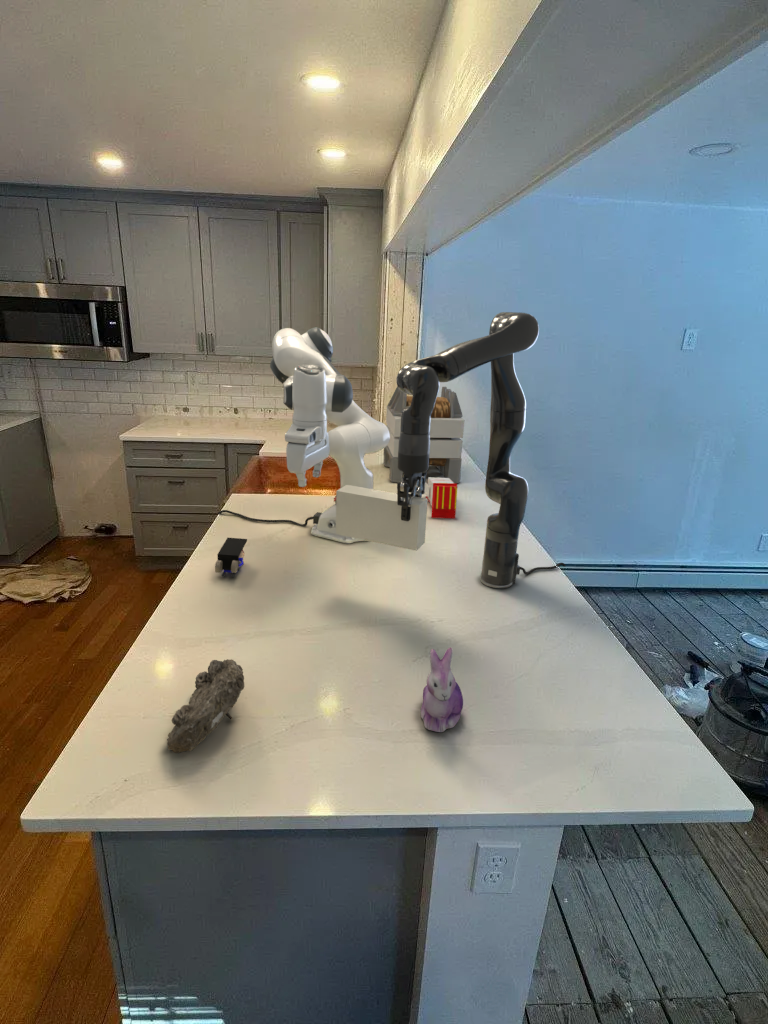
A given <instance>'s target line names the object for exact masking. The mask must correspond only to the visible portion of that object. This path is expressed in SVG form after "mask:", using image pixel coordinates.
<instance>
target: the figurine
mask: <svg viewBox="0 0 768 1024" xmlns="http://www.w3.org/2000/svg"><path fill="white" fill-rule="evenodd" d="M453 655H454V649H453V647H448V648H446V650H445V652H444V653H443V656H442V658H440V657H439V655H438V652H437V651H436V649H434V648H430V651H429V661H430V672H429V673H428V675H427V678H426V685H425V686H424V688H423V690H422V702H421V708H420V717H421V720H422V721H423V725H424V727H425V729H427V730H428V731H433V732H435V733H444V732H445V731H446V730H447V729H453V728H454V727H455V726H456V725H457V723H459V721H460V718H461V715H462V711H463V707H464V697H463V693H462V690H461V687H460V684H459V683H458V682H457V680H456V677H455V676H454V673H453V671H452V660H453Z"/></svg>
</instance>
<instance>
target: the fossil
mask: <svg viewBox="0 0 768 1024" xmlns="http://www.w3.org/2000/svg"><path fill="white" fill-rule="evenodd" d="M243 670H244V669H243V667H242V665H240V664H237V662H236V661H235V660H234V659H232V658H231V659H227V658H226V659H224V660H223V661H222V660H217V659H212V660H211V661H210V663H209V665H208V666H207V671H201V672H199V673H198V674H197V675H196V676H195V680H194V684H195V685H194V687H195V689H194V690H193V693H192V694H191V697H190V698H189V700H188V704H184V705H182V706H181V707H180V709H177V710H176V711H175V713H174V715H173V716H172V718H171V723H172V724H173V727H172V730H171V731H170V732H168V734H167V738H166V741H167V742H166V745H167V749H168V750H169V751H173V752H174V753H176V754H178V753H182V752H188V751H189V752H192V751H193V750H195V748H196V747H197V746H199V744H200V743H201V742H203V741H204V740H205V739H206V738H207V737H208V736H209V735H210V734H211V733H212V732H214V730H215V729H217V727H218V726H219V724H220V722H221V721H222V720H223V719H224V718H225V716H226V717H227V719H229V720H233V717H232V715H230V714H229V710H230V709H231V708H234V706H235V704H236V703H237V702H238V699H239V697H240V695H241V693H242V691H243V690H245V689H244V688H245V675H244V671H243Z"/></svg>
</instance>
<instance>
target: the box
mask: <svg viewBox="0 0 768 1024" xmlns="http://www.w3.org/2000/svg"><path fill="white" fill-rule="evenodd" d="M335 493H336V494H335V496H336V534H339V535H343V536H348V537H353V538H358V539H363V540H365V541H368V542H373V543H377V544H382V545H386V546H391V547H396V548H402V549H405V550H406V549H407V550H411V551H415V552H417V551H418V550H419V549H420V548H421V547H423V545H424V544H425V543H426V529H427V515H428V514H427V513H428V499H426V497H421V498H420V497H414V498H413V499H412V503H411V515H410V520H409V521H403V520H401V507H402V506H400V505H398V504H397V493H396V492H392V491H391V492H390V491H386V490H385V491H384V490H379V489H374V488H373V489H368V488H362V487H357V486H351V485H346V486H344V487H342V488H338V489H337V490H336V492H335ZM404 501H405V500H404Z"/></svg>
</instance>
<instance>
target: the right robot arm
mask: <svg viewBox="0 0 768 1024" xmlns="http://www.w3.org/2000/svg"><path fill="white" fill-rule="evenodd" d="M539 333H540V326H539V322H538V319H537V318H536V317H535V316H534V315H533V314H530V313H527V312H516V311H513V312H512V311H501V312H499V313H497V314H496V315H494V317H492V320H491V321H490V325H489V331H488V335H485V336H481V337H478V338H474V339H470V340H466V341H463V342H460V343H457V344H454V345H452V346H450V347H447V348H446V349H444V350H442V351H440V352H438V353H437V354H434V355H430V356H426V357H423V358H418V359H416V360H413V361H410V362H408V363H406V364H405V365H403V366H402V367H400V369H399V371H398V372H397V375H396V380H395V381H396V387H397V386H398V388H399V389H400V390H401V391H402V392H404V393H406V394H407V395H408V396H413V398H412V402H411V405H410V406H407V407H405V408H403V410H402V413H401V425H400V436H399V446H398V469H399V470H400V471H402V472H403V475H402V482H397V484H396V492H397V504H398V505H400V506H402V507H401V520H403V521H409V520H410V515H411V503H412V499H413V498H414V497H420V498H423V495H424V494H425V493H424V490H425V482H426V479H427V471H428V470H429V467H430V466H429V453H430V421H431V413H432V411H433V408H434V405H435V401H436V398H437V397H438V395H439V391H440V383H448V382H451V381H454V380H456V379H457V378H460V377H461V376H463V375H465V374H467V373H468V372H471V371H473V370H474V369H477V368H479V367H481V366H483V365H486V364H488V363H490V409H489V446H488V449H489V450H488V460H487V467H486V474H485V484H484V485H485V486H484V489H485V494H486V496H487V498H488V499H489V500H491V501H492V502H494V503H497V504H499V510H498V512H497V513H492V514H490V515H488V517H487V519H486V528H485V536H484V537H485V538H484V546H483V555H482V563H481V573H480V582H481V583H482V584H483V585H485V586H486V587H488V588H493V589H508V588H510V587H512V585H515V584H516V579H517V576H519V575H520V572H523V574H524V575H527V576H528V575H531V573H533V572H535V571H539V570H554V569H557V568H558V567H560V566H563V567H566V566H567V565H566V564H565V563H564V562H559V563H557V564H555V565H556V566H557V567H556V566H555V565H552V566H538V567H534V568H531V569H530V570H528V571H527V570H526V569H525V568H524V567H522V566H520V565H519V559H520V554H519V553H518V552H517V550H518V544H519V543H518V542H519V534H520V527H521V525H522V522H523V520H524V517H525V514H526V507H527V504H528V498H529V484H528V481H527V480H526V479H525V477H522V476H520V475H517V474H515V473H512V472H511V457H512V452H513V449H514V447H515V445H516V444H517V443H518V441H519V439H520V438H521V436H522V434H523V432H524V430H525V426H526V414H527V413H526V412H527V410H526V409H527V401H526V396H525V393H524V391H523V388H522V386H521V383H520V381H519V379H518V377H517V373H516V370H515V363H514V362H515V358H514V357H515V354H516V353H520V352H524V351H527V350H529V349H530V348H532V347H533V346H534V345H535V344H536V342H537V340H538V337H539ZM404 500H405V501H404Z"/></svg>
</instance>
